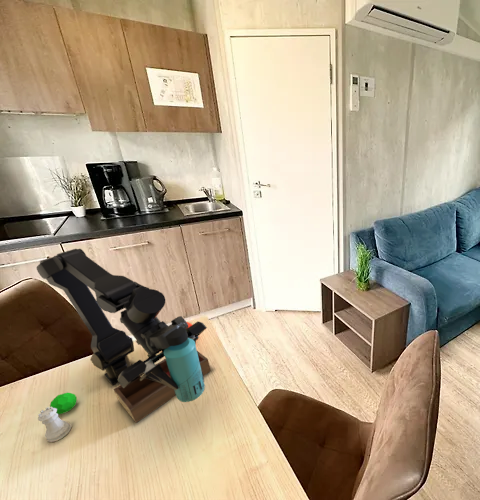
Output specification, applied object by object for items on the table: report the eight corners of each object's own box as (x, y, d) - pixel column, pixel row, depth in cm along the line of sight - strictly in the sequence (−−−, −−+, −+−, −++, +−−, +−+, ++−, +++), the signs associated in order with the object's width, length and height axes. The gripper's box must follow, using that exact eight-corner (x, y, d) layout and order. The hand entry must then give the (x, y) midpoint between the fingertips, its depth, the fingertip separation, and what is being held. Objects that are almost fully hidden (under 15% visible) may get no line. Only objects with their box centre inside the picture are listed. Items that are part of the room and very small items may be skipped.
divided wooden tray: (119, 401, 78) (113, 389, 76) (192, 356, 93) (189, 344, 91) (136, 423, 72) (130, 410, 70) (211, 370, 87) (207, 358, 85)
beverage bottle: (198, 408, 67) (182, 343, 59) (170, 406, 67) (150, 341, 59) (211, 385, 73) (199, 323, 65) (186, 383, 73) (170, 320, 65)
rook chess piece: (76, 428, 71) (63, 406, 68) (54, 445, 67) (39, 423, 64) (64, 422, 72) (51, 400, 69) (42, 439, 68) (27, 417, 65)
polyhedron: (54, 408, 76) (46, 396, 74) (79, 397, 79) (72, 385, 77) (54, 421, 72) (46, 409, 70) (79, 409, 75) (72, 397, 73)
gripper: (107, 342, 54) (159, 405, 54) (193, 293, 69) (234, 343, 70) (98, 359, 60) (145, 415, 60) (179, 311, 75) (216, 356, 76)
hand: (189, 379), depth 66 cm, fingers closed on beverage bottle, 5 cm apart
